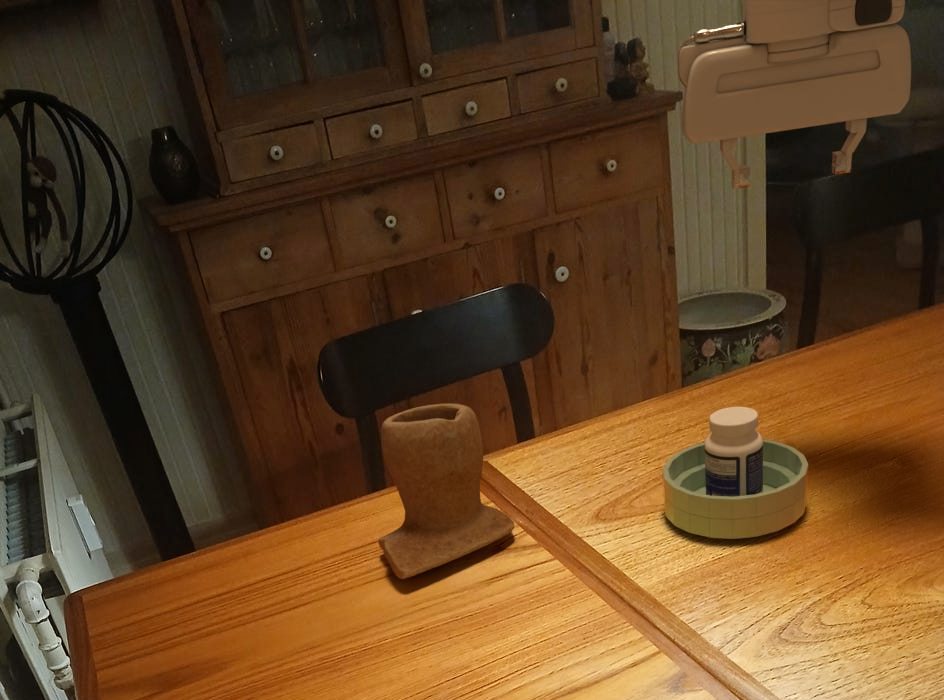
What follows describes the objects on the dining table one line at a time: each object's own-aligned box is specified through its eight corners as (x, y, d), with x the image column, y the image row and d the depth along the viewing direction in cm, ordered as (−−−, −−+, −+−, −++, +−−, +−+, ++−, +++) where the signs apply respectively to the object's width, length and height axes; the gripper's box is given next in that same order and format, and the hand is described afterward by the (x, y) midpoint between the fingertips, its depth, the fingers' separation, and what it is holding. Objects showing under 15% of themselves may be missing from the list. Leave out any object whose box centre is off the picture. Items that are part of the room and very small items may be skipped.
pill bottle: (748, 488, 105) (749, 399, 100) (771, 510, 100) (774, 419, 95) (697, 499, 105) (695, 411, 99) (718, 522, 100) (717, 431, 95)
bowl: (791, 474, 108) (792, 431, 105) (818, 536, 96) (821, 490, 93) (659, 487, 110) (657, 445, 107) (671, 550, 98) (669, 505, 95)
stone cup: (472, 505, 113) (451, 379, 105) (530, 540, 104) (513, 406, 96) (355, 553, 108) (324, 425, 100) (407, 594, 99) (377, 457, 91)
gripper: (680, 35, 87) (684, 202, 95) (924, -6, 84) (908, 170, 91) (674, 31, 92) (678, 189, 100) (903, -8, 89) (890, 158, 97)
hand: (790, 179), depth 96 cm, fingers open, 8 cm apart
